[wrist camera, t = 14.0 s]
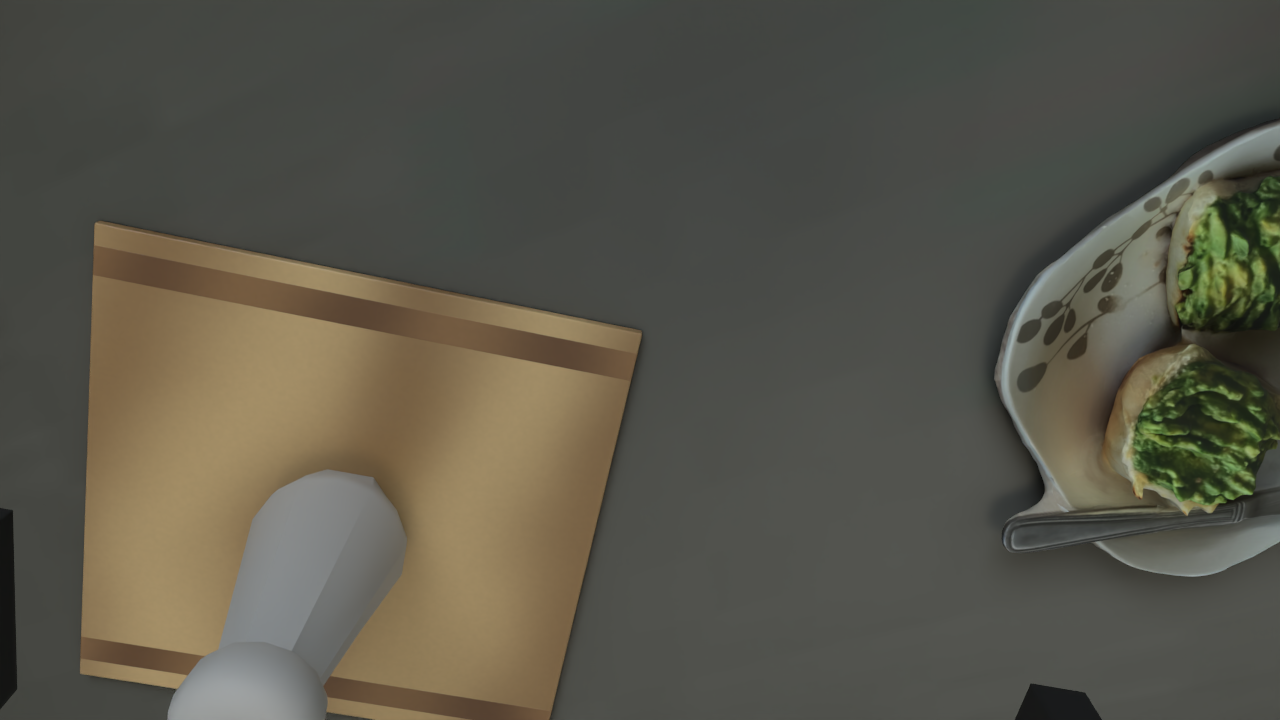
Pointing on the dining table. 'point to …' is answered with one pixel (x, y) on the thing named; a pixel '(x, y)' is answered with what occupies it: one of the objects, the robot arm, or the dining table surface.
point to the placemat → (342, 465)
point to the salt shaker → (298, 600)
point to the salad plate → (1159, 372)
